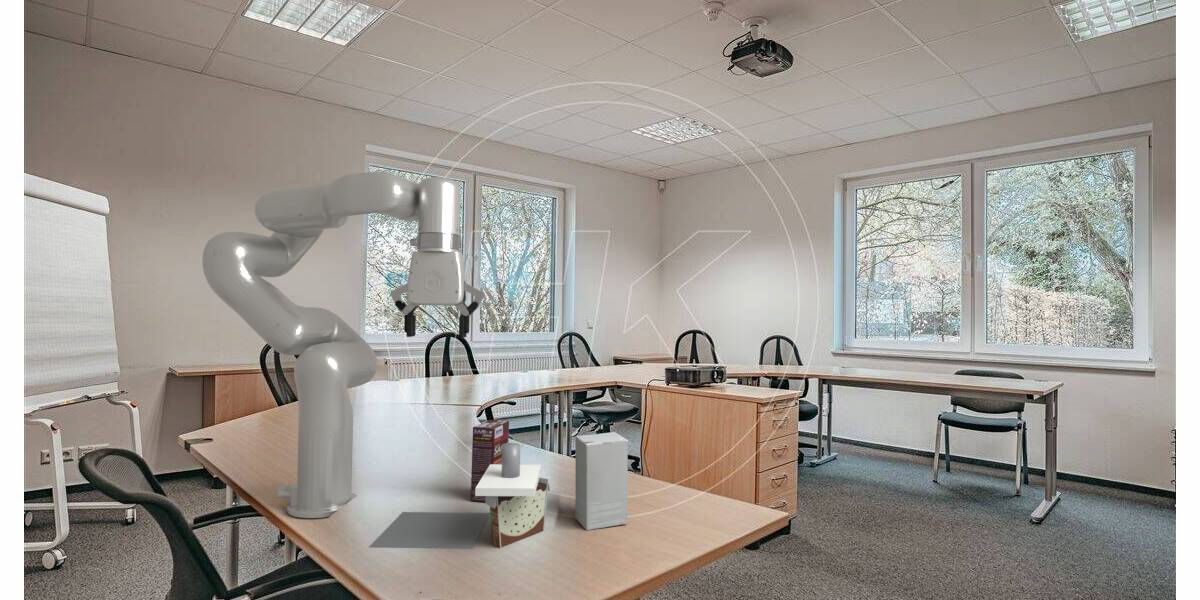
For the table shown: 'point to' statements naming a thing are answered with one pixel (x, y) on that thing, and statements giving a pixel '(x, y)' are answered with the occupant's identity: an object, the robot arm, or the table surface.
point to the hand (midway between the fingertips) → (436, 336)
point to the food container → (518, 515)
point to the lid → (509, 476)
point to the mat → (433, 530)
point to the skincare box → (601, 480)
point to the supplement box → (486, 450)
